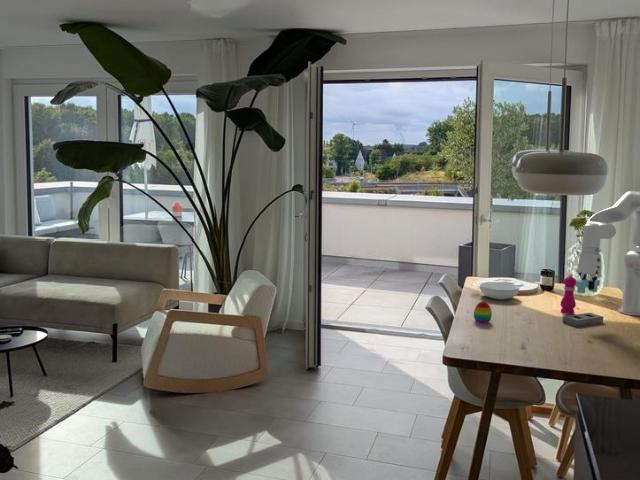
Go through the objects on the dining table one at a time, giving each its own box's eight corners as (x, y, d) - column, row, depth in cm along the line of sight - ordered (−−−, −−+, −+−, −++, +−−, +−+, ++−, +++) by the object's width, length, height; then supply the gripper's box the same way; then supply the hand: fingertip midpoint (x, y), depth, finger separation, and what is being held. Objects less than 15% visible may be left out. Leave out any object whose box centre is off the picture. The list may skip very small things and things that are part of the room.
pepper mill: (576, 315, 326) (579, 275, 323) (560, 314, 328) (564, 274, 325) (573, 311, 333) (577, 273, 330) (558, 310, 335) (561, 272, 332)
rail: (589, 318, 321) (589, 312, 320) (602, 322, 314) (603, 316, 313) (562, 322, 313) (563, 316, 312) (575, 326, 306) (576, 320, 305)
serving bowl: (525, 298, 360) (526, 286, 359) (506, 304, 345) (507, 291, 344) (491, 291, 374) (491, 279, 373) (471, 297, 359) (472, 285, 358)
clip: (592, 289, 315) (593, 278, 314) (599, 291, 311) (600, 280, 311) (574, 292, 309) (575, 280, 308) (581, 293, 306) (582, 282, 305)
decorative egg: (491, 320, 313) (492, 300, 311) (491, 325, 305) (492, 304, 304) (473, 319, 315) (474, 298, 314) (473, 323, 307) (474, 302, 306)
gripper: (611, 252, 302) (607, 291, 305) (582, 246, 316) (578, 284, 319) (599, 253, 298) (596, 293, 301) (570, 247, 313) (567, 285, 316)
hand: (587, 288), depth 310 cm, fingers closed on clip, 3 cm apart
